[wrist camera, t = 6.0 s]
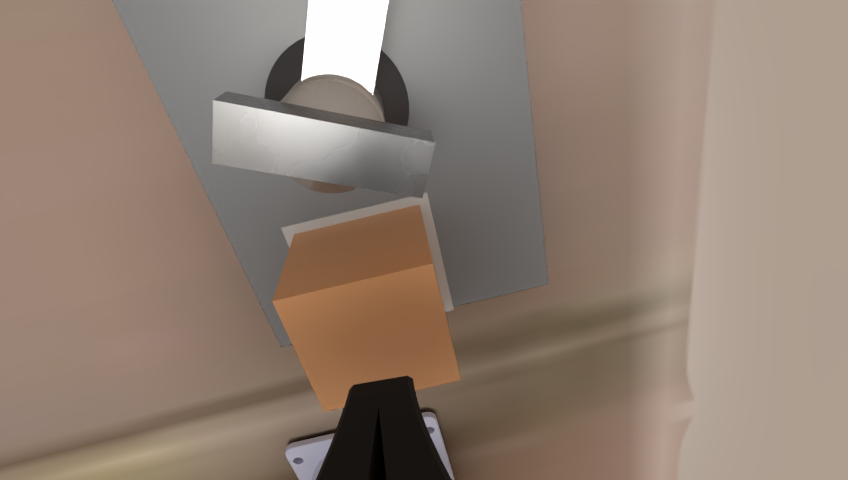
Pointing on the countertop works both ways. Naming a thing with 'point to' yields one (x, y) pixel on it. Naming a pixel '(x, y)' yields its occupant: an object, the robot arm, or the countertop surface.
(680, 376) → the countertop surface
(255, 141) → the lever handle
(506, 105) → the box
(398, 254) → the orange cube
